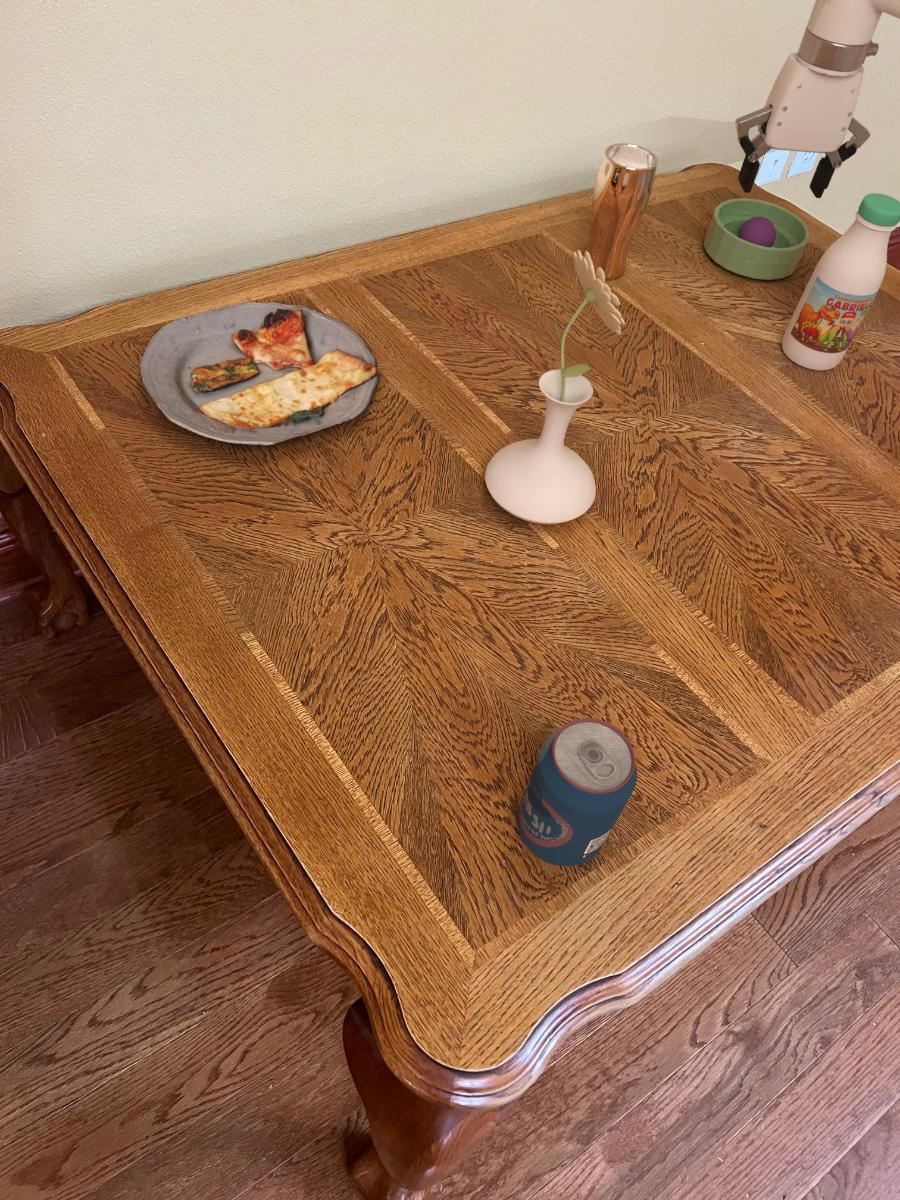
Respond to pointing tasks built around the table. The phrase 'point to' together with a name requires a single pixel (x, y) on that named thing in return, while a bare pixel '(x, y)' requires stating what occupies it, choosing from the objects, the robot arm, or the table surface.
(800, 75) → the robot arm
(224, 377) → the food plate
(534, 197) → the table surface
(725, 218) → the bowl
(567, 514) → the flower in vase
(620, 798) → the soda can
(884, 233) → the milk bottle
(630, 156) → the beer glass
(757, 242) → the ball
